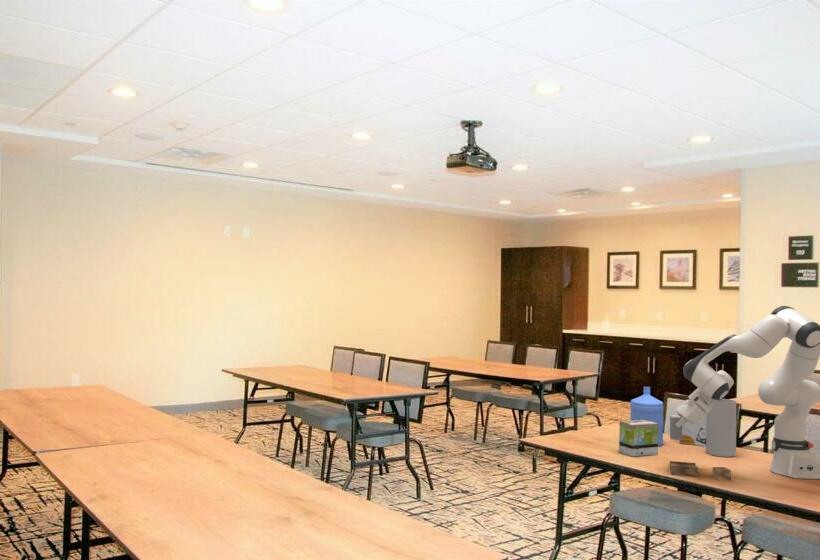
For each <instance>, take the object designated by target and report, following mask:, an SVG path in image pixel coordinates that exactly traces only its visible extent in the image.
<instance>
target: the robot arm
mask: <svg viewBox="0 0 820 560" xmlns="http://www.w3.org/2000/svg"><path fill="white" fill-rule="evenodd" d="M785 338H787V339H789V340H791V343H790V346H789V347H788V350H787V354H786V356H785V358H784V360H783V363H781V364H782V365H781V366H780V367H779V368H778V370H777V371H776V372H775V373H774V374H772V375H771V376H770V377H769V378H768V379H766V380H763V381H762V382H761V383H760V384H759V385H758V388H757V393H758V397H759V399H760V400H761V401H762V402H763V403H764V404H767V405H771V406H778V407H779V406H780V407H781V406H783V407H784V409H783V410H782V412H781V413H778V415H776V417H774V421H773V422H774V424H773V425H774V429H773V430H774V436H773V437H772V438H773V440H772V449H773V450H772V451H773V455H772V462H771V465H770V467H769V470H770V472H772V473H775V474H777V475H780V476H781V475H782V476H786V477H790V478H793V479H808V480H809V479H810V480H812V479H813V480H820V456H819V455H817V454H816V453H815V452H814V451H812V450H811V449H813V448H815V444H814V443H813V442H812V441H811V442H809V441H808V440H807V439H806V423H807V418H808V416H809V413H810V411H811V410H812V408H813V407H814V406H815V405H816V404H817V403H818V402H820V386H819V384H818V383H817V382H815V381H813V380H809V379H807V378H809V377H811V376H813V374H814V372H815V370H816V367H817V365H818V361H819V360H820V324H819V323H818V322H815V321H814V320H813V319H811V317H809V316H808V315H806V314H804V313H802V312H801V311H798V310H796V309H795V308H794V307H791V306H787V305H781V306H779V307H776V308H774V310H772V311H771V312H770V314H768V315H766V316H764V317H763V318H761V319H760V320H759V321H757V322H756V323H755V324H754V325H753V326H751V327H750V328H749V329H748V330H747V331H745V332H744V333H740V334H738V335H737V334H734V333H733V334H730V335H728V336H726V337H724V338H723V339H722V340H720V341H719V342H717V343H716V344H713V346H711V347H710V348H708V349H707V350H705V351H704V352H702V353H701V354H699V355H697V356H696V357H695V358H692V359H690V360H689V361H688V362H686V363H685V365H684V366H683V367H682V368H683V370H682V371H683V372H682V373H683V377H684V378H685V379H686V380H688V381H689V382H690V383H692V384H693V385H694V386H695V387H697V388H696V389H695V390H693V392H692V393H690V394H689V395H688V396H687V398H688V399H686V400H684V401H682V402H683V403H682V404H681V403H680V404H681V405H680V404H679V405H678V406H677V407H676V408H675V409H674V411H675V413H677V414H676V415H677V416H680V417H682V418H681V419H680V420H679V421H677V422H676V423H675V425H676V426H677V427H680V426H681V425H683V424H684V423H686V422H687V421H688V422H690V423H691V424H692V423H695V422H696V421H697V420H699V419H700V418H701V417H702V416H704V415H705V413H709V412H710V411H711V407H712V406H713V405H714V403H715V402H716V401H717V400H721V399H725V397H726V396H727V395H728V394H729V393H730V389H731V388H732V386H734V383H735V382H734V379H733V377H732V376H731V375H730V373H728V372H727V371H725V370H722V369H720V370H718V371H715V370H714V368H713V367H711V366H710V365H709V363H710V362H711V361H713V360H715V358H717V357H718V356H721V354H723V353H725V352H734V353H736V354H739V355H741V356H745V357H748V358H754V359H759V358H763V357H765V356H766V355H768V354H769V353H770V352H772V350H773V349H774V348H776V346H777V345H778V344H780V342H781V341H782V340H783V339H785Z"/></svg>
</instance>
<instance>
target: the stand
mask: <svg viewBox="0 0 820 560" xmlns="http://www.w3.org/2000/svg"><path fill="white" fill-rule="evenodd" d="M669 472H670V474H671V475H673V476H674V475H675V476H683V477H684V476H685V477H686V476H687V477H695V478H696V477H697V478H698V477H699V467H697V465H696V463H695V462H687V461H673V460H672V461H671V460H669Z"/></svg>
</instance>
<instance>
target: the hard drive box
mask: <svg viewBox="0 0 820 560" xmlns="http://www.w3.org/2000/svg"><path fill="white" fill-rule="evenodd" d="M683 402H684V401H681V402H680V404H679V405H681V404H682V403H683ZM679 444H683V445H689V446H691V445H693V446H699V447H705V448H706V413H705V415H704V416H702V417H701V418H700V419H699V420H697V421H696V422H695V423H692V424H691V423H690V422H688V421H687V422H686V423H684V424H683V425H682V440H679Z"/></svg>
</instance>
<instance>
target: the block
mask: <svg viewBox="0 0 820 560" xmlns="http://www.w3.org/2000/svg"><path fill="white" fill-rule="evenodd" d="M712 478H714V479H717V480H718V481H732V470H731V469H730V468H728V467H726V466H712Z"/></svg>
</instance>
